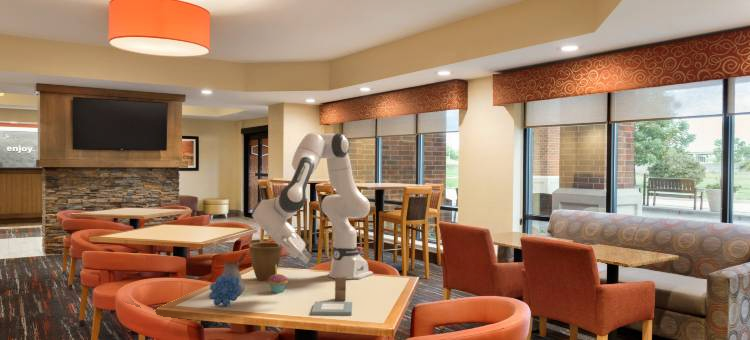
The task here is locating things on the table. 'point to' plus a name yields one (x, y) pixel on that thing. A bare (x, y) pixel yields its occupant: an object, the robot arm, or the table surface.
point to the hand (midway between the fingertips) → (309, 260)
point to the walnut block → (340, 288)
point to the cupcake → (277, 282)
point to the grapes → (225, 290)
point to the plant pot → (265, 259)
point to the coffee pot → (234, 271)
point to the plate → (332, 308)
